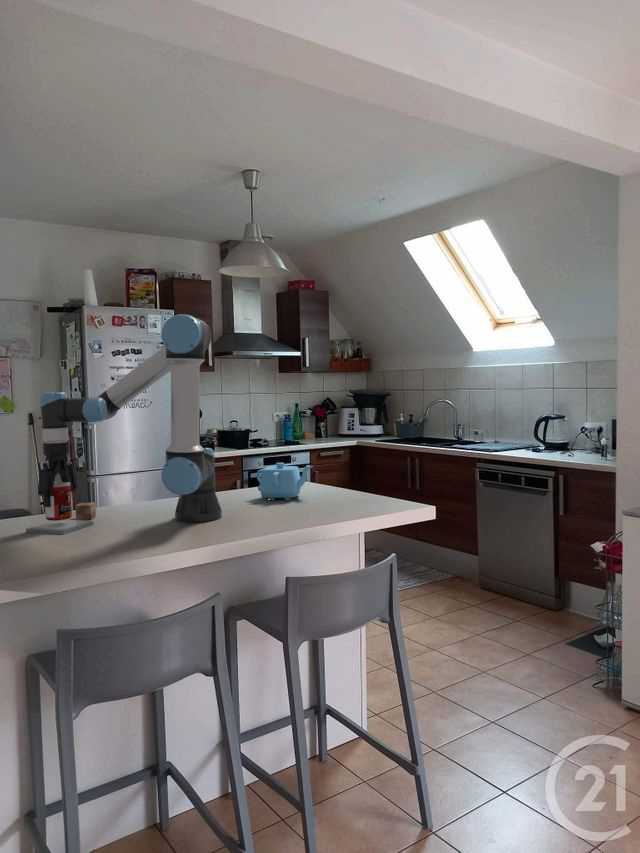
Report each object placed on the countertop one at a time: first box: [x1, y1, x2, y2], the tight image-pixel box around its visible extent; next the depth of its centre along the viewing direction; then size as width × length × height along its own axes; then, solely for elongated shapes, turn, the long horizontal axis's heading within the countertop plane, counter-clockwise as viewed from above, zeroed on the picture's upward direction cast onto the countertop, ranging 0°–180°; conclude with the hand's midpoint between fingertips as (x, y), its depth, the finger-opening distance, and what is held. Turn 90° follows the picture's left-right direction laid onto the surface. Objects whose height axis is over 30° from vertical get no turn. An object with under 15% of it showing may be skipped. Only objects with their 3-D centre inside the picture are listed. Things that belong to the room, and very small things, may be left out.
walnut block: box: [74, 502, 97, 521], centre depth 223 cm, size 5×5×5 cm
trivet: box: [25, 519, 95, 535], centre depth 209 cm, size 14×14×1 cm
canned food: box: [44, 481, 73, 522], centre depth 208 cm, size 8×8×11 cm
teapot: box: [255, 462, 313, 501], centre depth 252 cm, size 18×16×14 cm
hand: (59, 514), depth 209 cm, fingers closed on canned food, 8 cm apart
